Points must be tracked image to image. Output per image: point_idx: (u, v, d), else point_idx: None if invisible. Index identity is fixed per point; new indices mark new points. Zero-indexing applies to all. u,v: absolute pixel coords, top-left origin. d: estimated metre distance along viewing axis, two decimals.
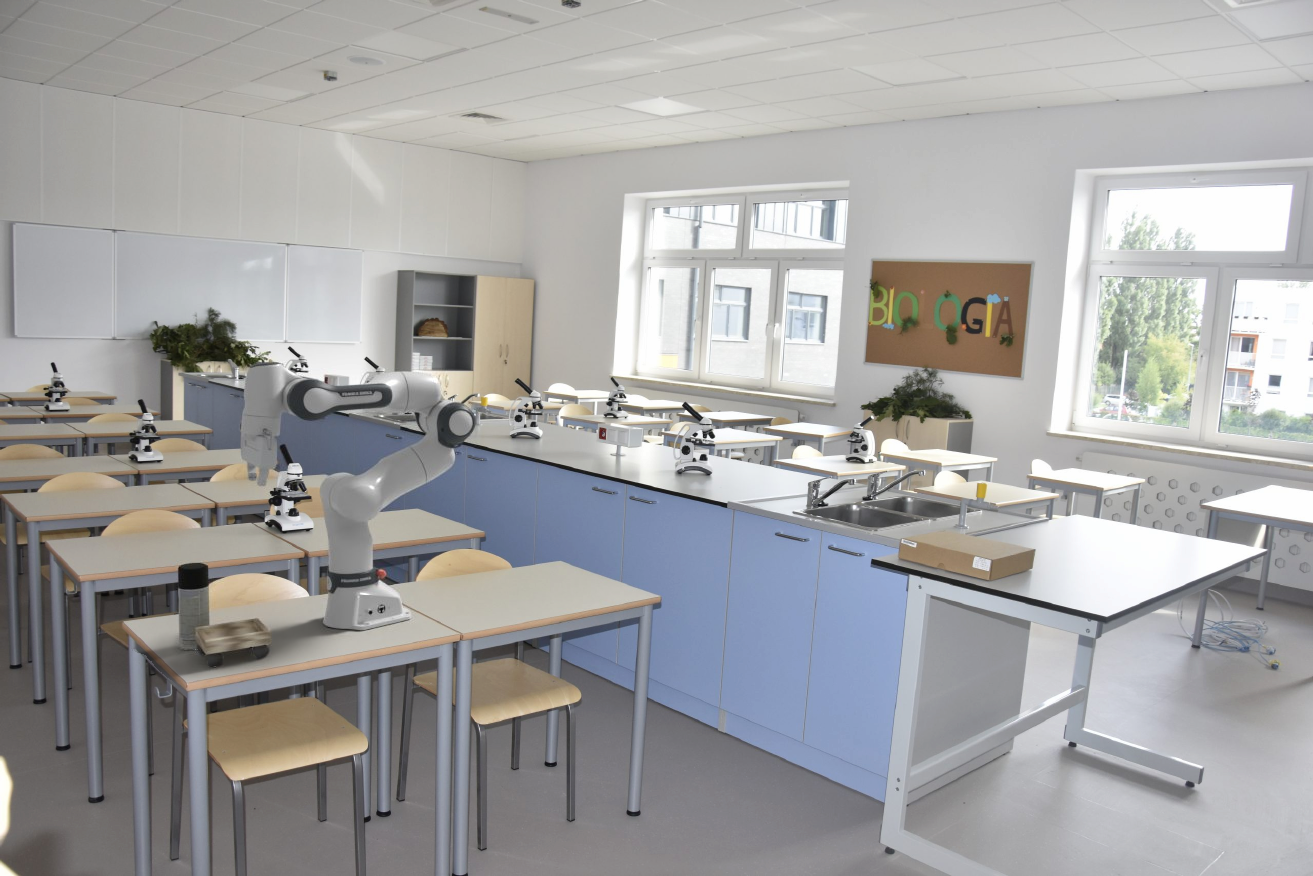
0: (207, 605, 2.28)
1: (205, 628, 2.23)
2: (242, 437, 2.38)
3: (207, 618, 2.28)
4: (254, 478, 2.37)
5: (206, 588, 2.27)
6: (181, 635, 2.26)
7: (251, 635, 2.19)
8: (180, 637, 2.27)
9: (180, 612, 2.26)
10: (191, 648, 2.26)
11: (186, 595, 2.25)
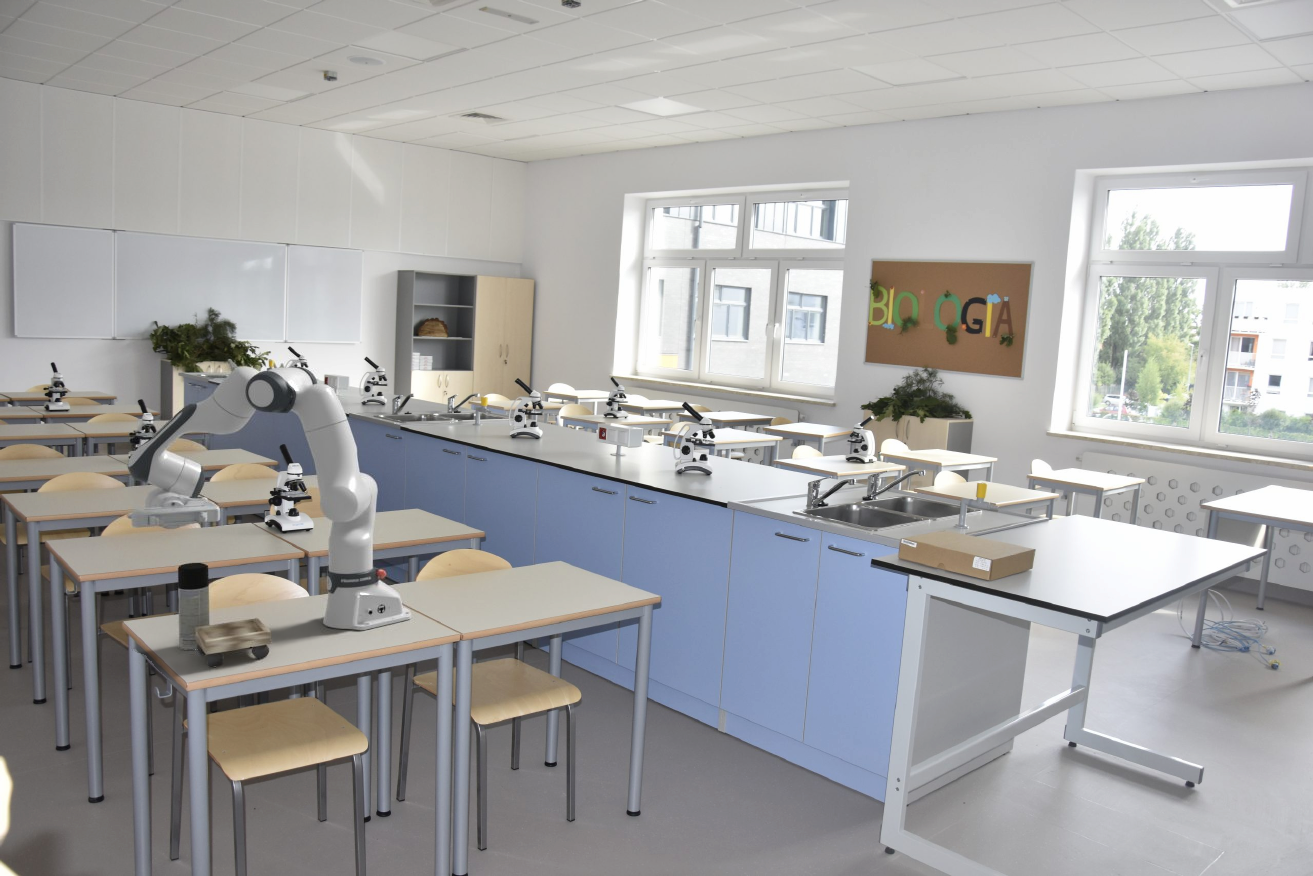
0: (207, 605, 2.28)
1: (205, 628, 2.23)
2: None
3: (207, 618, 2.28)
4: (198, 517, 2.38)
5: (206, 588, 2.27)
6: (181, 635, 2.26)
7: (251, 635, 2.19)
8: (180, 637, 2.27)
9: (180, 612, 2.26)
10: (191, 648, 2.26)
11: (186, 595, 2.25)
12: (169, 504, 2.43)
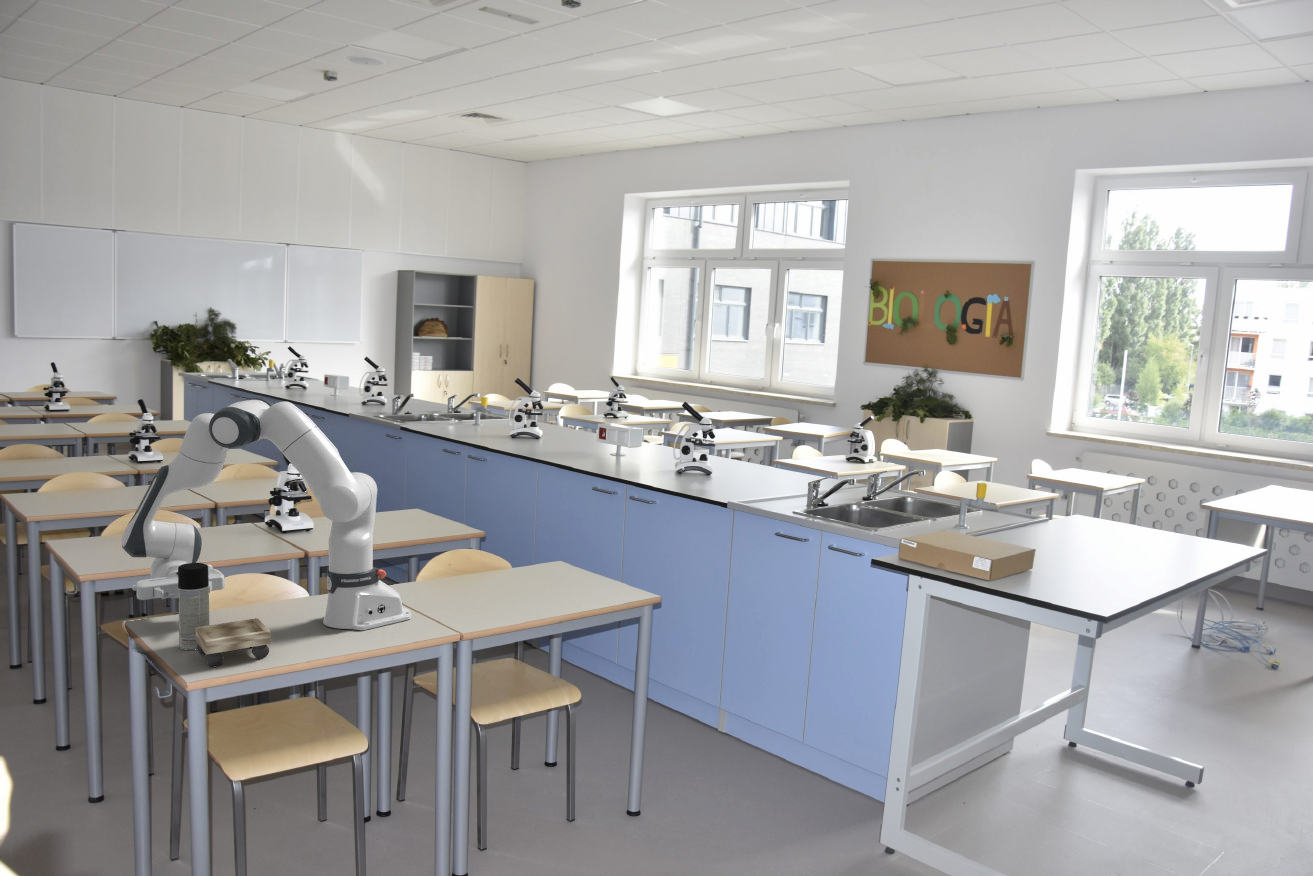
0: (207, 605, 2.28)
1: (205, 628, 2.23)
2: None
3: (207, 618, 2.28)
4: None
5: (206, 588, 2.27)
6: (181, 635, 2.26)
7: (251, 635, 2.19)
8: (180, 637, 2.27)
9: (180, 612, 2.26)
10: (191, 648, 2.26)
11: (186, 595, 2.25)
12: (174, 574, 2.44)
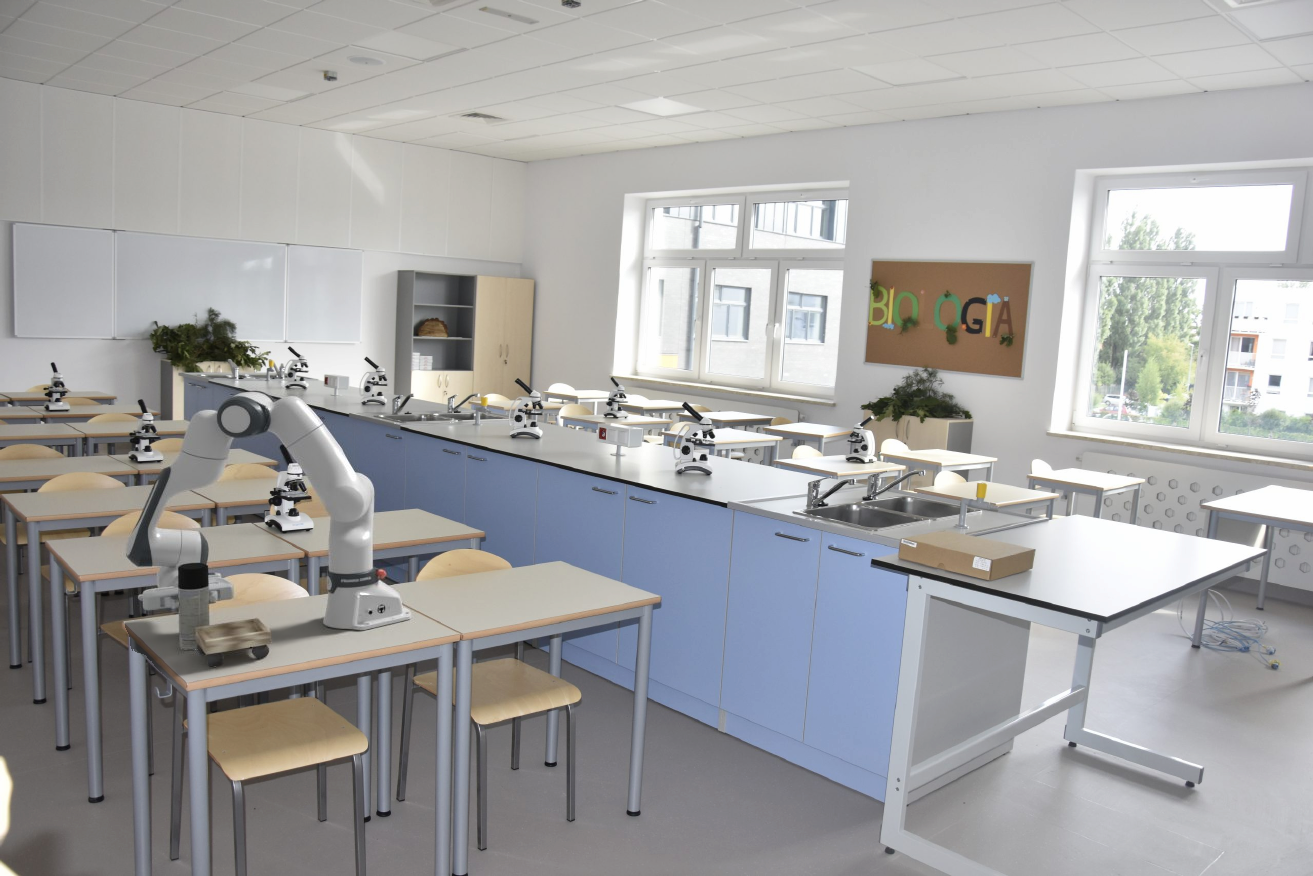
0: (207, 605, 2.28)
1: (205, 628, 2.23)
2: None
3: (207, 618, 2.28)
4: (209, 598, 2.30)
5: (206, 588, 2.27)
6: (181, 635, 2.26)
7: (251, 635, 2.19)
8: (180, 637, 2.27)
9: (180, 612, 2.26)
10: (191, 648, 2.26)
11: (186, 595, 2.25)
12: None
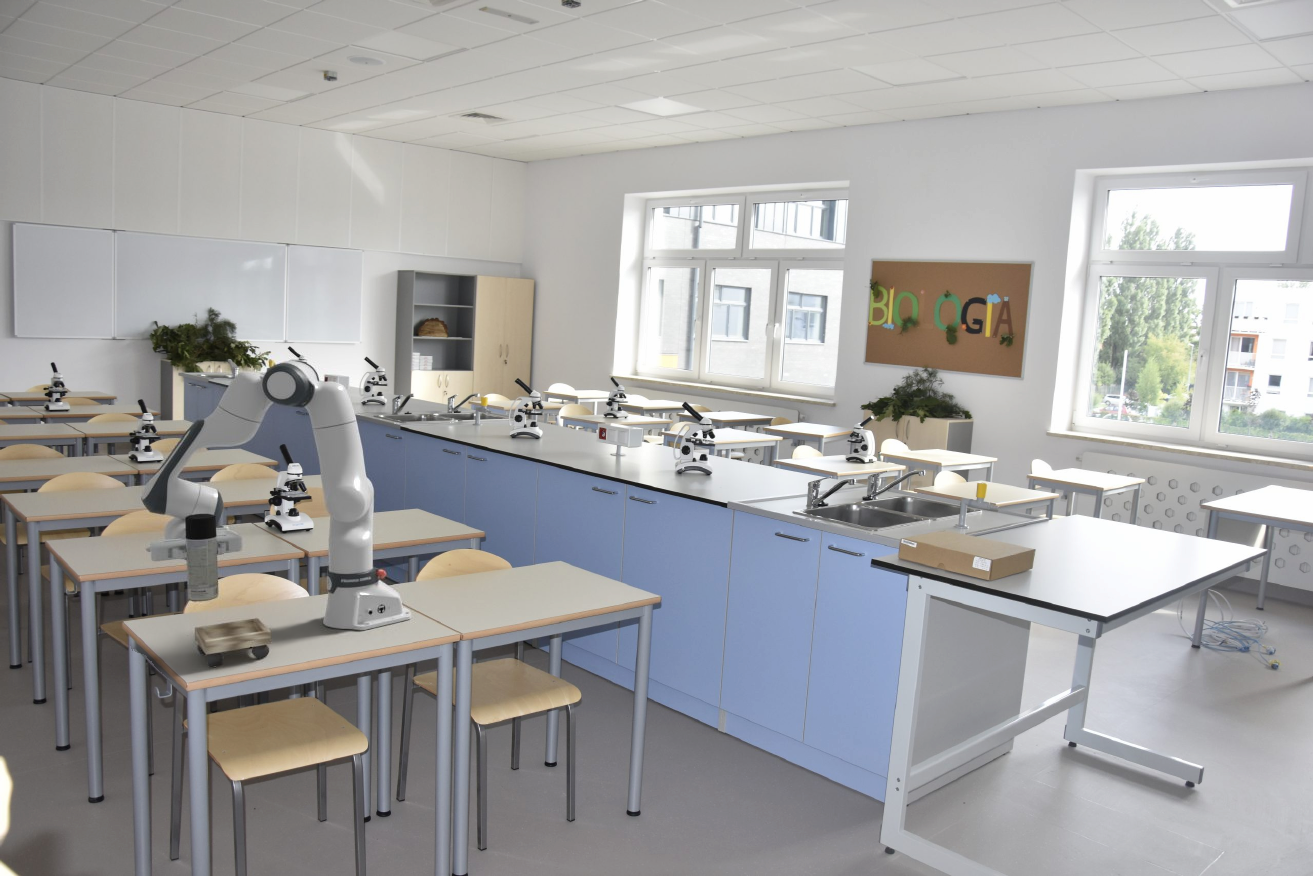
0: (215, 556, 2.25)
1: (205, 628, 2.23)
2: None
3: (215, 569, 2.26)
4: (217, 549, 2.27)
5: (214, 539, 2.25)
6: (189, 586, 2.24)
7: (251, 635, 2.19)
8: (188, 588, 2.24)
9: (188, 563, 2.23)
10: (200, 599, 2.24)
11: (193, 545, 2.22)
12: None
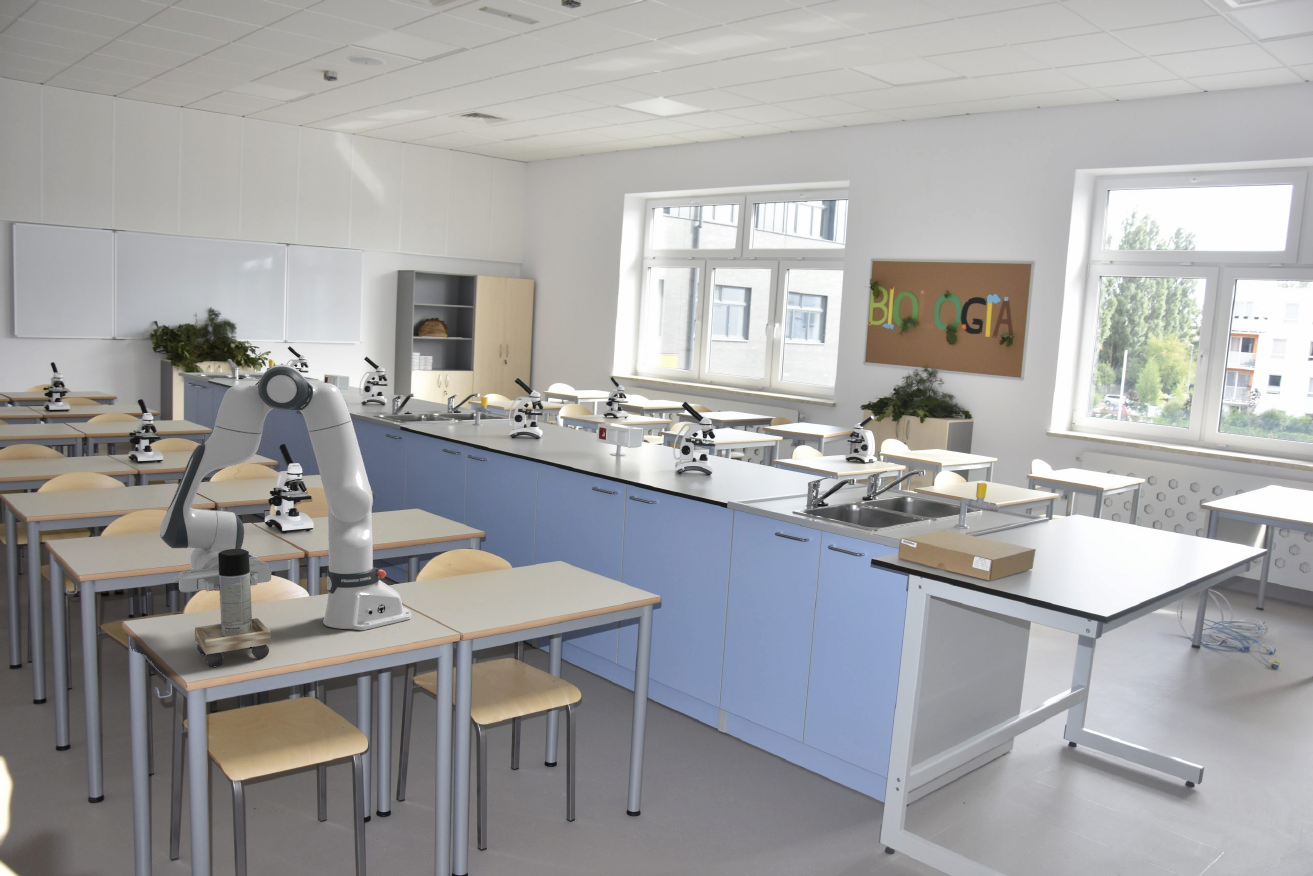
0: (249, 592, 2.22)
1: (205, 628, 2.23)
2: None
3: (249, 605, 2.22)
4: (250, 580, 2.23)
5: (247, 575, 2.21)
6: (223, 623, 2.20)
7: (251, 635, 2.19)
8: (222, 625, 2.21)
9: (222, 599, 2.20)
10: None
11: (227, 582, 2.18)
12: (218, 565, 2.28)
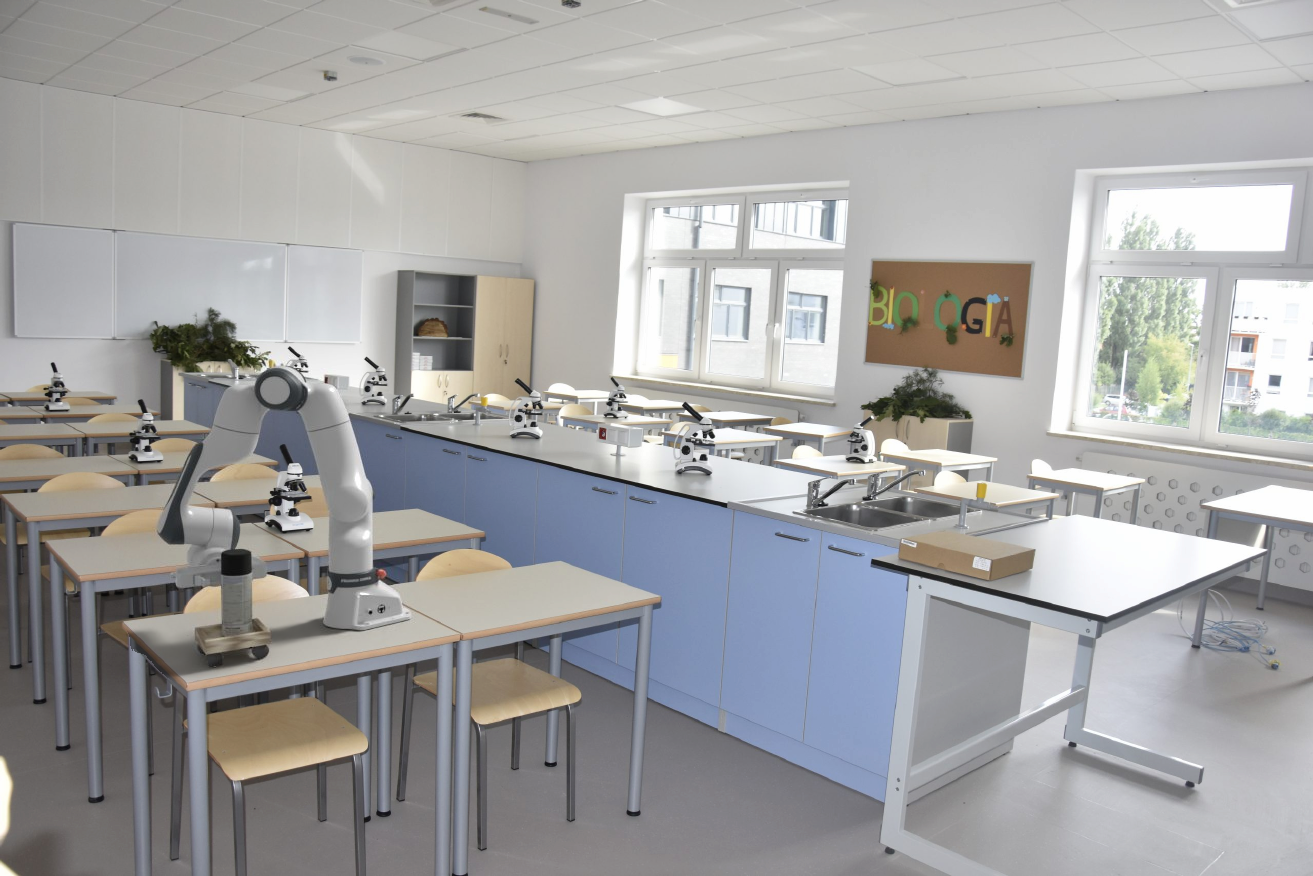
0: (250, 592, 2.22)
1: (205, 628, 2.23)
2: None
3: (250, 606, 2.22)
4: None
5: (249, 575, 2.21)
6: (224, 623, 2.20)
7: (251, 635, 2.19)
8: (223, 625, 2.21)
9: (223, 599, 2.20)
10: None
11: (229, 582, 2.19)
12: (214, 561, 2.31)
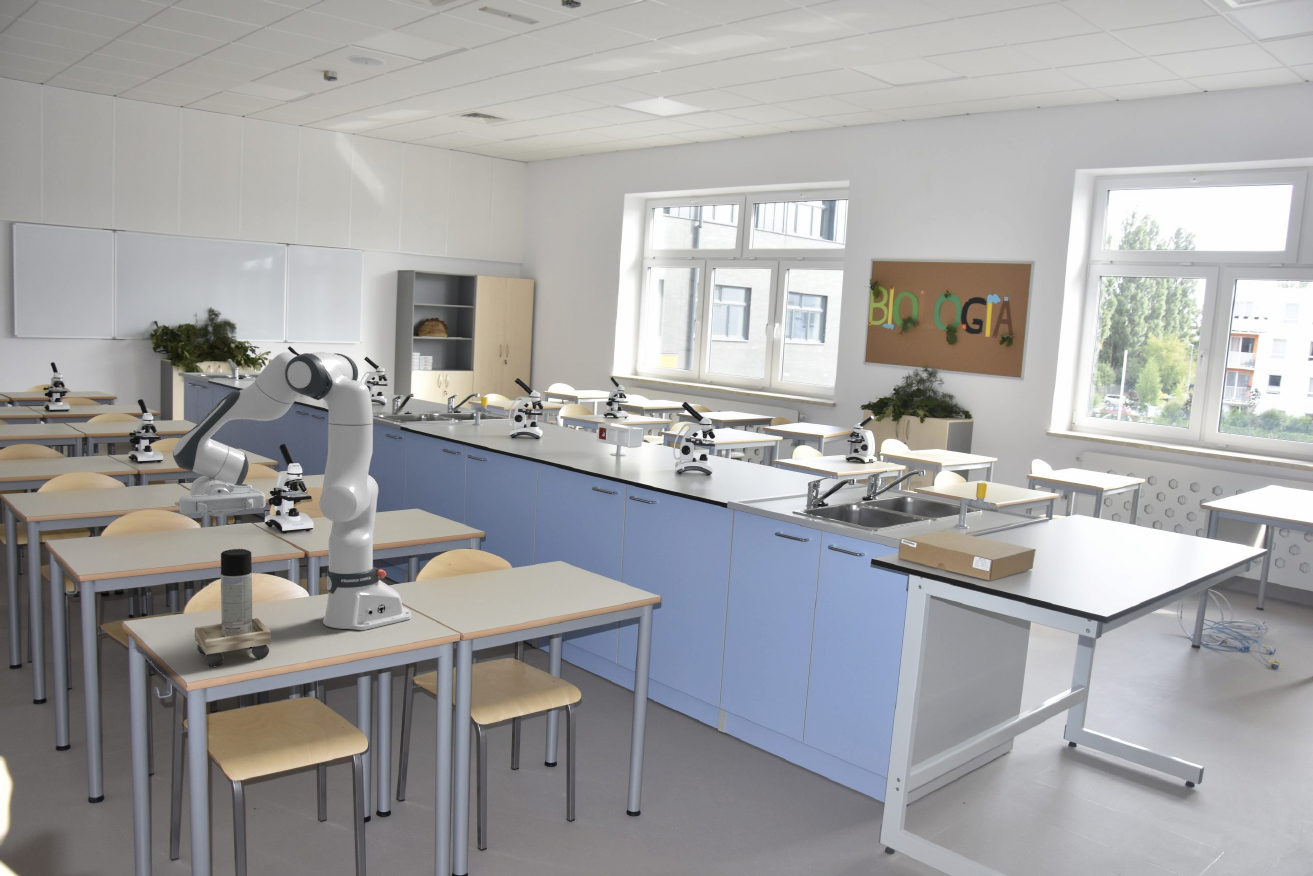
0: (250, 592, 2.22)
1: (205, 628, 2.23)
2: None
3: (250, 606, 2.22)
4: (245, 504, 2.40)
5: (249, 575, 2.21)
6: (223, 623, 2.20)
7: (251, 635, 2.19)
8: (223, 625, 2.21)
9: (223, 599, 2.20)
10: None
11: (229, 582, 2.19)
12: (215, 491, 2.45)
